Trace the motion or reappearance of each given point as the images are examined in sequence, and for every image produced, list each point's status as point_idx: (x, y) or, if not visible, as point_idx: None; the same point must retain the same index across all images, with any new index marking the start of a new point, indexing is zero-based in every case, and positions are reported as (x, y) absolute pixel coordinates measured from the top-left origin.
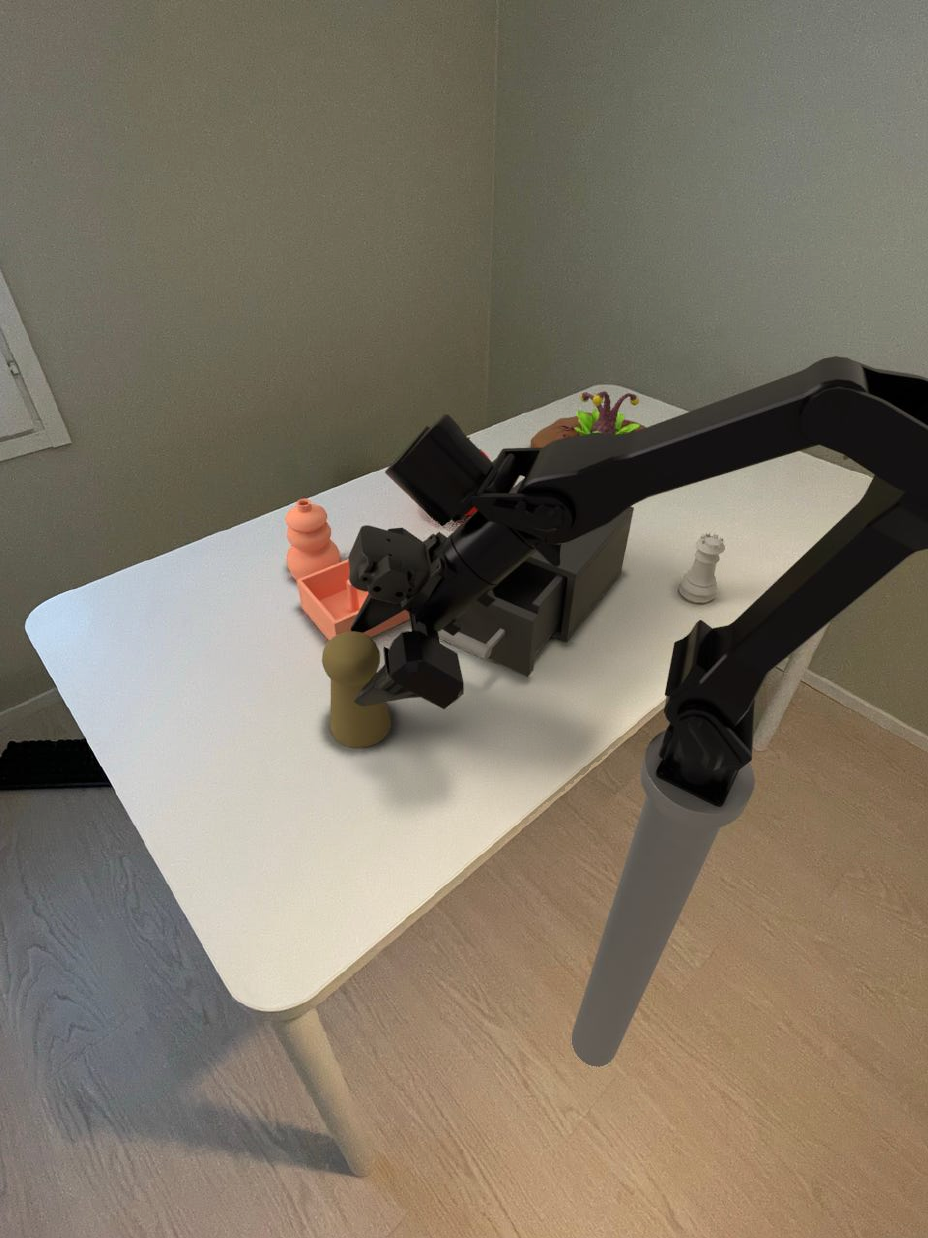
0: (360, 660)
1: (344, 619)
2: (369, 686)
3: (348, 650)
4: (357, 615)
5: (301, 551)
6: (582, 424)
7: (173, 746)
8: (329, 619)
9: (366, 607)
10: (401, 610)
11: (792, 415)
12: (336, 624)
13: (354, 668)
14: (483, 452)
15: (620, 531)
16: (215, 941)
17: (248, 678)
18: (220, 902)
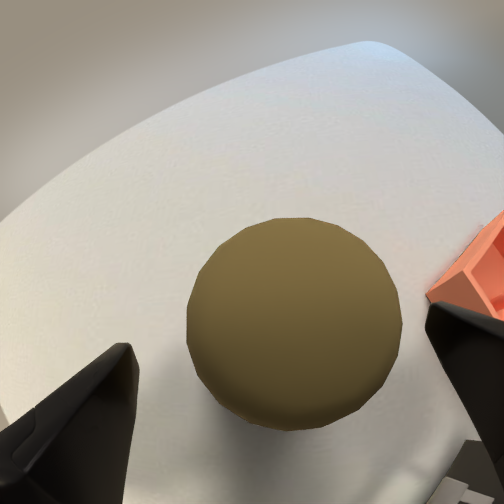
0: (219, 365)
1: (474, 288)
2: (60, 395)
3: (268, 306)
4: (474, 314)
5: None
6: None
7: (237, 118)
8: (469, 260)
9: (501, 341)
10: (490, 453)
11: None
12: (463, 275)
13: (192, 340)
14: None
15: None
16: (14, 211)
17: (355, 173)
18: (39, 206)
